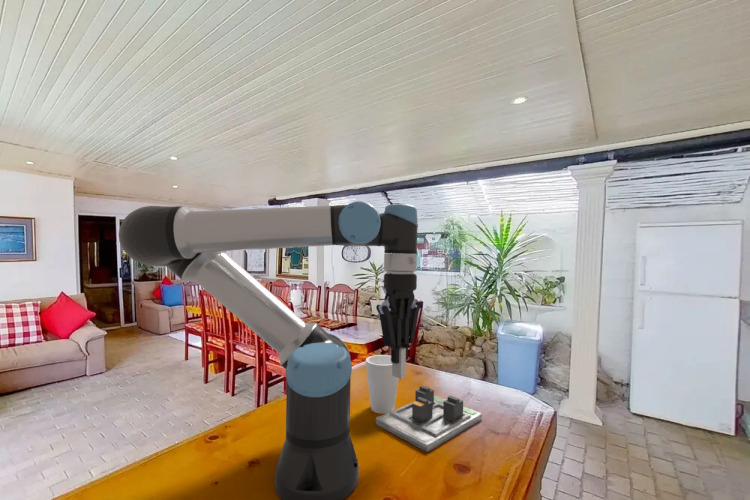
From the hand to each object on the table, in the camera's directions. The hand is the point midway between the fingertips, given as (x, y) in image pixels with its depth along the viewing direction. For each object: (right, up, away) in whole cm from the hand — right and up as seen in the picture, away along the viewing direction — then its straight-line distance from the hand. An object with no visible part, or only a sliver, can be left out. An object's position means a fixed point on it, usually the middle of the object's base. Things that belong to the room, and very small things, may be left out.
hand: (398, 376), depth 78 cm
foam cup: (-3, -14, +15) cm, 21 cm away
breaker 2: (+6, -12, +5) cm, 15 cm away
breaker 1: (+8, -13, +13) cm, 20 cm away
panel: (+8, -14, +7) cm, 18 cm away
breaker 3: (+14, -13, +7) cm, 20 cm away
